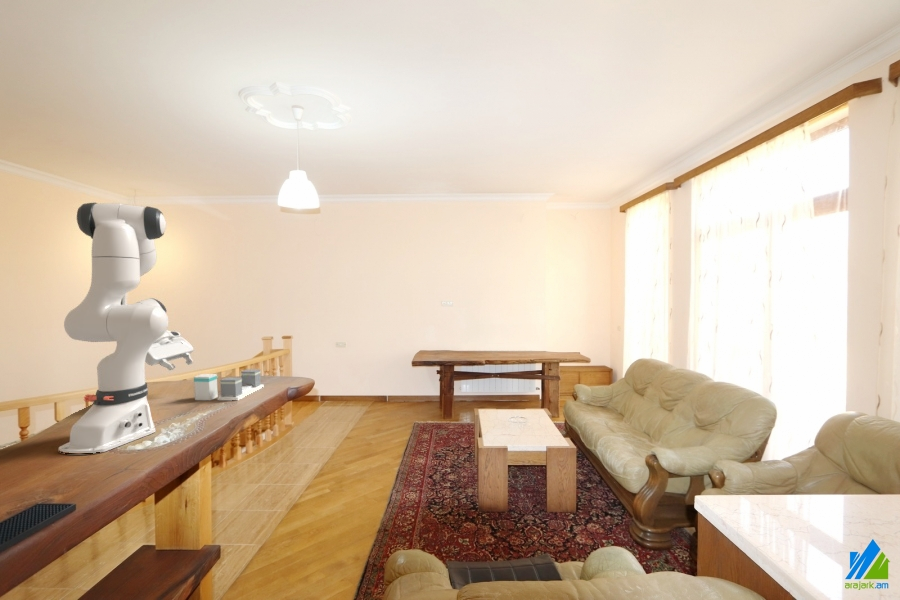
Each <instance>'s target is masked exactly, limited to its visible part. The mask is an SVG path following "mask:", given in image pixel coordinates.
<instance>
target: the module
mask: <svg viewBox="0 0 900 600" xmlns="http://www.w3.org/2000/svg"><path fill="white" fill-rule="evenodd" d="M193 384H194V385H193V387H194V400H195V401H212V400H215V399H216V398H218V397H219V393H218V374H217V373H201V374H198V375H195V376H193Z"/></svg>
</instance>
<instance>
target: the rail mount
mask: <svg viewBox="0 0 900 600" xmlns="http://www.w3.org/2000/svg"><path fill="white" fill-rule="evenodd" d="M261 375H262V374H261V369H255V368H254V369H253V368H250V369H249V368H248V369H244V370H241V371H240V377H239V376H238V377H232V376H230V377H228V376H227V377H225V378H222V379H220V380H219V385H220V395H218V397H217V401H232V400H238V401H240V400H242V399H244V398H246V397H247V395H248V396H249V394H250V395H252V394H254V393H255V391H256V392H257V390H258V391H259V390H262V389H263V388H264V387H265V384H262V380H261V378H262V377H261ZM262 387H263V388H262ZM253 392H254V393H253ZM251 393H252V394H251ZM245 396H246V397H245Z"/></svg>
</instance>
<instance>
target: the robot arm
mask: <svg viewBox="0 0 900 600" xmlns="http://www.w3.org/2000/svg"><path fill="white" fill-rule="evenodd" d="M76 222H77V226H78V227H79V231H81V232H82V233H83V234H84V235H86V236H88V237H90V239H92V241H91V279H90V280H91V282H90V286H89V290H88V292H87V294H86V296H85V297H84V299H83V300H82V301H81V302H80V304H78V305H77V306H76V307H74V308H73V309H71V310H70V311H69V312H68V313H67V314H66V316H65V319H64V322H63V327H64V331H65V333H66V334H67V336H68V337H70V338H71V339H72V340H75V341H82V342H88V343H89V342H90V343H105V342H106V343H107V342H109V343H110V342H116V347H115V350H114V351H113V353H110V354H109V355H106V356H105V357H103V358H102V359H101V360H100V361H99V362H98V364H97V366H96V374H97V388H98V389H97V390H96V392H95V394H85V396H84V397H83V401H84V402H86V403H87V402H88V403H89V402H91V403H92V406H91V407H90V408H89V409H88V410H86V412H85V413H84V414H83V415H82V416H81V417H80V418H79V419H78V420H77V421H76V422H75V423H74V424H73V425H72V426H71V428H70V435H69V442H66V443H64V444H62V445H60V446H59V447H58V451H59V450H60V451H63V452H69V453H93V454H97V453H96V452H100V453H105V452H107V451H110V450H112V449H115V448H118V447H120V446H123V445H126V444H128V443H131V442H134V441H136V440H138V439H141V438H144V437H146V436H148V435H151V434H154V433H156V427H155V423H154V421H153V418H152V413H151V408H150V405H149V402H148V399H147V398H148V397H147V396H148V394H149V392H148V391H149V387H148V383H147V382H146V364H147V365H149V366H156V365H159V366H161V367H163V368H165V369H167V370H168V371H174V370H175V368H176V366H175V365H174V364H173V363H170V362H169V361H173V360H177V359H180V358H183V359H185V360H186V361H185V364H187V365H189V366H190V365H192V364H194V359H192V356H191V354H192V353H193V351H194V346H192V344H191V343H190V342H189V341H188V340H187V339H186V338H184V337H182V334H181V333H180V331H179V332H178V331H175V330H174V331H173V330H172V331H171V330H168V328H169V325H170V320H169V316H168V314H167V308H166V306H165V305H164V304H163V303H162V302H161V301H160V300H158V299H157V298H156V299H155V298H153V297H150V298H146V299H142V300H140V301H137V302H134V303H132V304H128V302H127V301H128V298H127V297H128V293H129V292H131V291H134V290H135V289H136V288H137V287H138V286H139V285H140V283H141V277H142V276H144V275H145V274H147V273H148V272H150V271H151V270H152V269H153V268H154V266H155V265H156V263H157V250H156V244H155V240H157V239H160V238H162V237H163V236H164V234H165V232H166V229H167V222H166V218H165V216H164V214H163V212H162V211H161V210H160V209H158V208H157V207H152V206H142V205H134V204H123V203H121V202H119V203H116V202H115V203H114V202H107V203H105V202H104V203H103V202H101V203H99V202H87V203H83V204H81V205H80V206H79V207H78V208H77V211H76Z"/></svg>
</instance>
